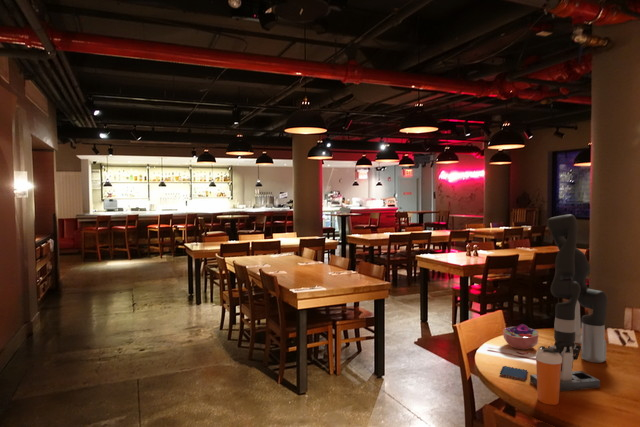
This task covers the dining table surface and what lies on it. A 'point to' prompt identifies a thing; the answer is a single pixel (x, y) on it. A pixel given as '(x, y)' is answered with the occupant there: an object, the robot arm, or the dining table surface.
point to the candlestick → (577, 324)
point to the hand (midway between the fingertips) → (564, 370)
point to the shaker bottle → (548, 375)
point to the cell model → (521, 336)
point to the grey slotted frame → (574, 381)
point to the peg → (566, 367)
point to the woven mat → (514, 373)
